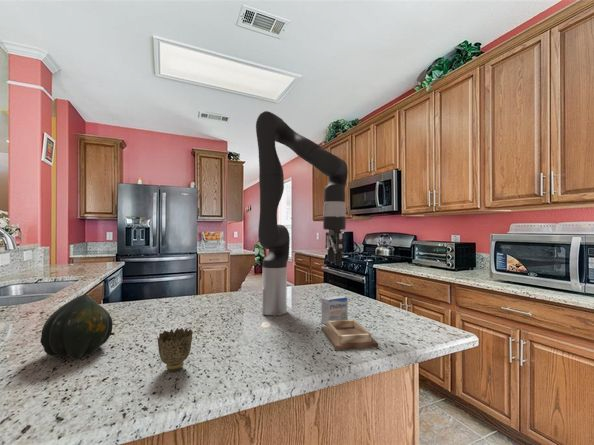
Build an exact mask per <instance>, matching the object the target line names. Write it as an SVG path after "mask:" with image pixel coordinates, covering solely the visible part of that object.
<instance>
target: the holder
mask: <svg viewBox="0 0 594 445" xmlns="http://www.w3.org/2000/svg"><path fill="white" fill-rule="evenodd" d="M320 329H321V332H322V333H323V334H324V336H325V338H326V339H327V340H328V342H329V343H330V344H331V346H332V347H333V348H334V350H335V351H340V350H341V351H342V350H352V349H354V350H356V349H367V348H368V349H369V348H379V342H378V341H376V340H375V338H373V337H372V334H371V333H370V331H368V330H367V329H366V328H365V327H364V326H362V324H360V323H359V322H358V321H357V320H356V319H348V320H337V321H327V325H322V326H320Z"/></svg>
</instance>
